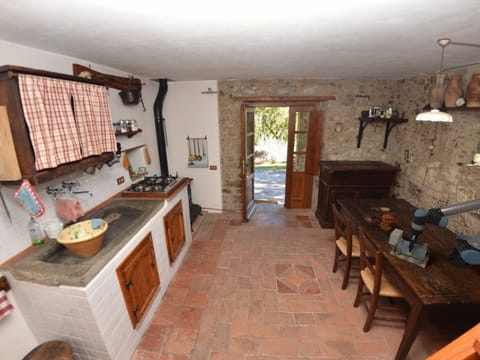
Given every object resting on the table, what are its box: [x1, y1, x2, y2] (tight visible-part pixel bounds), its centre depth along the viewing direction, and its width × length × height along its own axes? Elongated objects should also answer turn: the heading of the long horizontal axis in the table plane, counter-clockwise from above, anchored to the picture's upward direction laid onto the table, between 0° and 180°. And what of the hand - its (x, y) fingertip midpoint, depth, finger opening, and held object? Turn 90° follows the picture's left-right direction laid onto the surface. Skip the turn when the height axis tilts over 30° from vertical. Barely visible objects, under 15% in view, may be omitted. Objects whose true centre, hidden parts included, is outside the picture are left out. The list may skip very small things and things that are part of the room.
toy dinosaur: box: [379, 213, 394, 232], centre depth 216 cm, size 11×11×18 cm
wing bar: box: [388, 228, 404, 246], centre depth 197 cm, size 6×14×10 cm, turn 131°
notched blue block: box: [397, 237, 429, 261], centre depth 175 cm, size 18×7×13 cm, turn 49°
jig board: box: [389, 243, 430, 269], centre depth 177 cm, size 23×16×6 cm
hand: (410, 252), depth 177 cm, fingers open, 8 cm apart
